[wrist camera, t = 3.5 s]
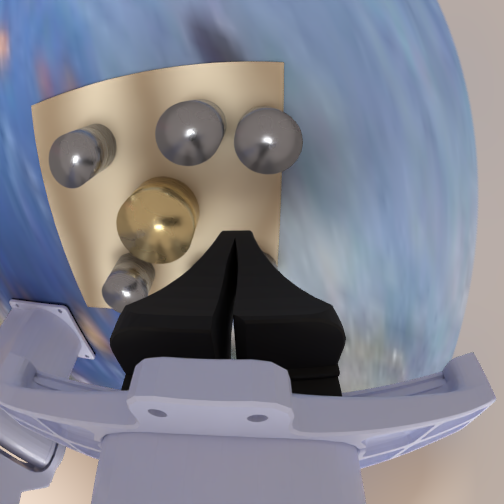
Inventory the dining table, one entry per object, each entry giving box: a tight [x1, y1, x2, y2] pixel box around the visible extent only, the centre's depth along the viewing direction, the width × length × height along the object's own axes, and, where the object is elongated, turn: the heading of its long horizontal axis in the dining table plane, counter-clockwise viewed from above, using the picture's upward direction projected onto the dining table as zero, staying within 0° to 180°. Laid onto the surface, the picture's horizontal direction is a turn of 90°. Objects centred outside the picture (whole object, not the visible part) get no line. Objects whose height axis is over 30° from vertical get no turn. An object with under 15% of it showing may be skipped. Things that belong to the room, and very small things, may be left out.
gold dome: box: [116, 176, 200, 264], centre depth 15 cm, size 4×4×2 cm
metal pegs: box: [49, 99, 303, 313], centre depth 15 cm, size 13×13×3 cm
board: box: [31, 62, 284, 308], centre depth 17 cm, size 16×17×1 cm
